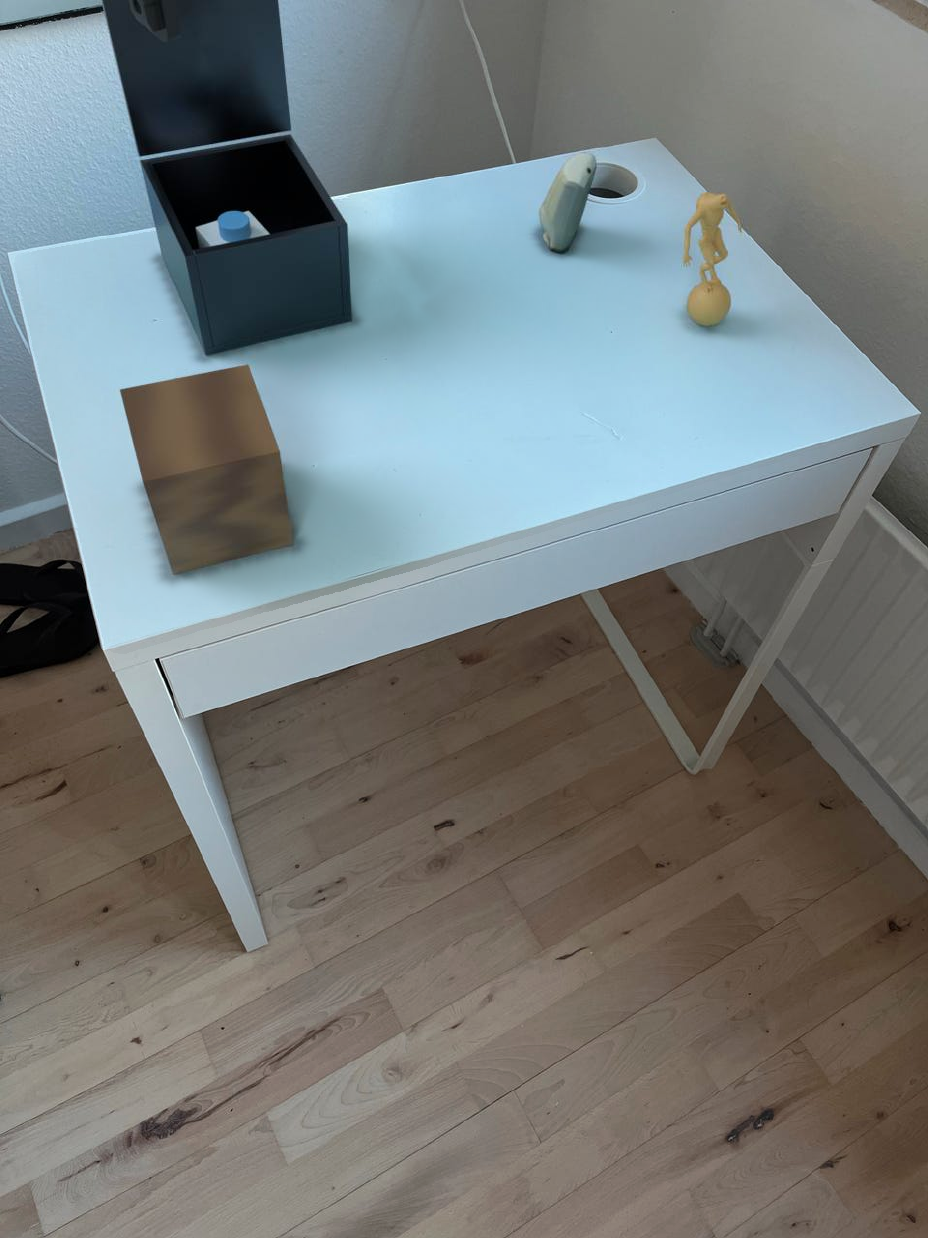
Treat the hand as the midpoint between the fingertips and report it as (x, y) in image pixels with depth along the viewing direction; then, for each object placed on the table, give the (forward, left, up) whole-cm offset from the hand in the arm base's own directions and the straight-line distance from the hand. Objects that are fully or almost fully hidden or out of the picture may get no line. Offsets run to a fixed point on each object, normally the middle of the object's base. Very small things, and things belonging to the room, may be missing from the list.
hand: (238, 11), depth 46 cm
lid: (+25, +19, -16) cm, 35 cm away
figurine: (+34, -25, -34) cm, 54 cm away
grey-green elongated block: (+40, -10, -34) cm, 54 cm away
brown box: (-5, +4, -34) cm, 35 cm away
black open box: (+20, +14, -34) cm, 42 cm away
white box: (+17, +13, -33) cm, 39 cm away
